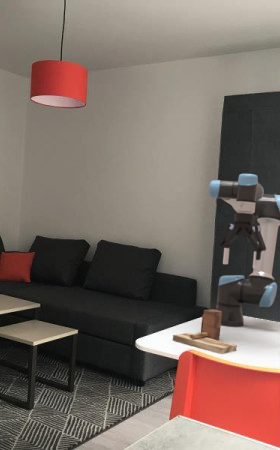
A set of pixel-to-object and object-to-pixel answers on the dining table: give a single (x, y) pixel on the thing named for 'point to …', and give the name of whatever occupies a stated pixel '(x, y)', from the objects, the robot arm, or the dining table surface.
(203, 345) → the board
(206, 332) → the wooden mallet
